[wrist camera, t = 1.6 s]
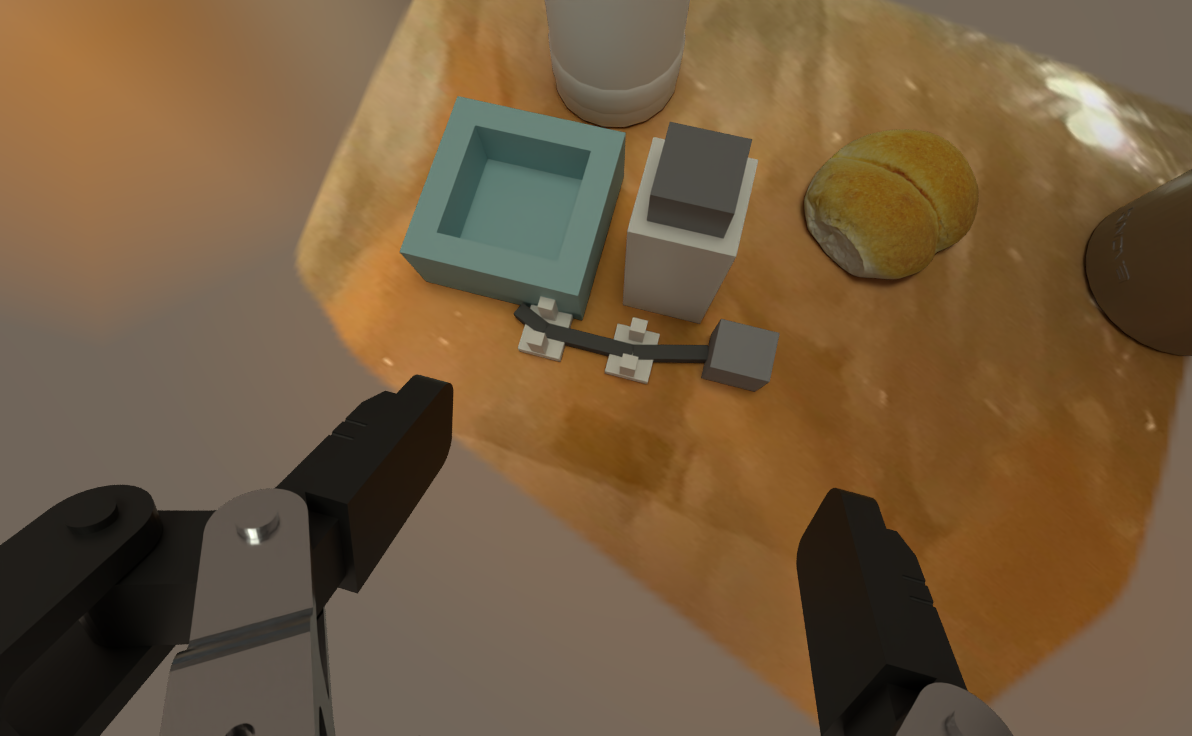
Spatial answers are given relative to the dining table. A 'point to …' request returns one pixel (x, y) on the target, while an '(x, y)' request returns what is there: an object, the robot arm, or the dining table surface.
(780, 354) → the dining table surface
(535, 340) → the cable run
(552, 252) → the end socket
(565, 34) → the bottle
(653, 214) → the block
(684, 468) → the dining table surface
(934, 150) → the bread roll
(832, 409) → the dining table surface
